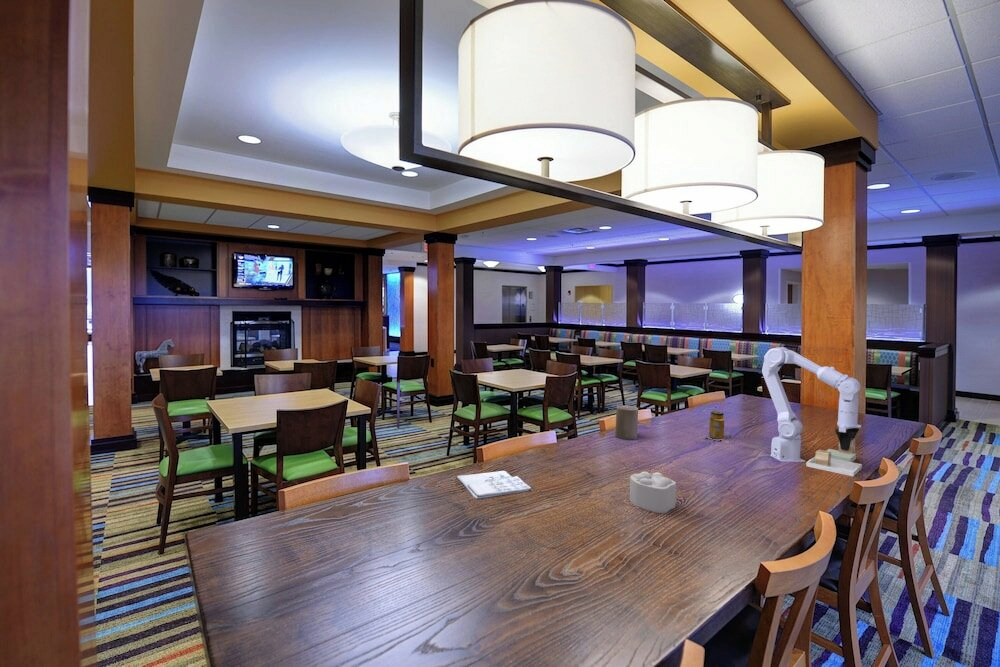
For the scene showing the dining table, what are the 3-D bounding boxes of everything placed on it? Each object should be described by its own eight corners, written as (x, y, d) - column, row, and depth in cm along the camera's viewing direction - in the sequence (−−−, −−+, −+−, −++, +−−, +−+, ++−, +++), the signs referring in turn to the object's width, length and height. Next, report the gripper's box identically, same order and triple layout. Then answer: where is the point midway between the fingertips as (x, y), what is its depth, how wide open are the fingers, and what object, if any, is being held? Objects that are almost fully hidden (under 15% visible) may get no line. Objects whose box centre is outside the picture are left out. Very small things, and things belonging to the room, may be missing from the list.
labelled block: (852, 454, 170) (852, 440, 170) (838, 451, 173) (839, 438, 173) (854, 452, 173) (855, 438, 172) (841, 449, 176) (842, 436, 175)
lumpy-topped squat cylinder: (662, 515, 135) (662, 485, 134) (622, 501, 144) (622, 473, 144) (679, 505, 142) (680, 476, 141) (640, 492, 151) (640, 466, 151)
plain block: (827, 467, 175) (828, 454, 175) (815, 464, 178) (815, 451, 178) (830, 465, 178) (831, 452, 178) (818, 462, 181) (818, 449, 181)
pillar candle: (617, 439, 212) (619, 406, 212) (613, 433, 222) (614, 402, 221) (639, 440, 212) (641, 407, 211) (634, 434, 222) (635, 402, 221)
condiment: (727, 438, 216) (727, 412, 216) (719, 442, 210) (720, 415, 210) (710, 435, 221) (711, 409, 221) (703, 438, 216) (704, 412, 215)
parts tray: (861, 469, 175) (862, 464, 175) (853, 477, 166) (853, 472, 166) (816, 460, 185) (816, 455, 185) (806, 467, 177) (806, 462, 177)
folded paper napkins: (475, 501, 145) (475, 494, 145) (456, 479, 163) (456, 472, 163) (531, 492, 152) (531, 486, 152) (507, 472, 171) (507, 466, 170)
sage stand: (850, 465, 180) (850, 458, 180) (822, 459, 187) (822, 453, 186) (855, 460, 186) (856, 453, 186) (828, 454, 193) (828, 448, 192)
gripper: (856, 416, 164) (854, 455, 165) (866, 410, 174) (864, 447, 175) (832, 412, 169) (830, 450, 170) (843, 407, 179) (841, 443, 180)
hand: (846, 448), depth 173 cm, fingers closed on labelled block, 4 cm apart
